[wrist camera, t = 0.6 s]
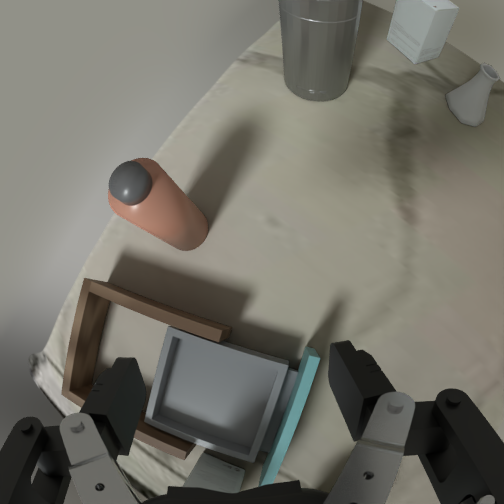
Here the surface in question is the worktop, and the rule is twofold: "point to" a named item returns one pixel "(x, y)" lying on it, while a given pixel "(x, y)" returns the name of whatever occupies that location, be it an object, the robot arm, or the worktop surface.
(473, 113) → the flask
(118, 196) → the bottle
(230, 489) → the skincare box
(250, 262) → the worktop surface
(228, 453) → the tray
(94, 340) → the wooden storage box
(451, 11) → the supplement box
